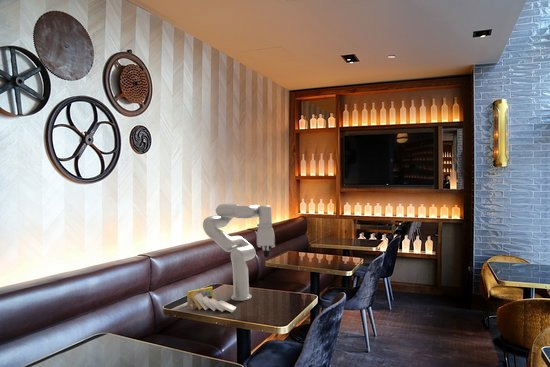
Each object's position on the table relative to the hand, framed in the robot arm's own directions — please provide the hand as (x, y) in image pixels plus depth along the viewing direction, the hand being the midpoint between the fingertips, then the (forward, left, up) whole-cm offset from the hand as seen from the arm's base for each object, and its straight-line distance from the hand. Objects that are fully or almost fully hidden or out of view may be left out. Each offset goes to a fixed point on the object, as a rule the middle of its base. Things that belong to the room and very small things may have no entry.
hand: (266, 257), depth 233 cm
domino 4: (-1, -27, -26) cm, 38 cm away
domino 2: (-8, -34, -27) cm, 44 cm away
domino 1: (-11, -37, -27) cm, 47 cm away
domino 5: (+3, -23, -26) cm, 35 cm away
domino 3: (-4, -30, -26) cm, 41 cm away
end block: (-15, -41, -27) cm, 52 cm away
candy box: (-23, -34, -28) cm, 50 cm away
